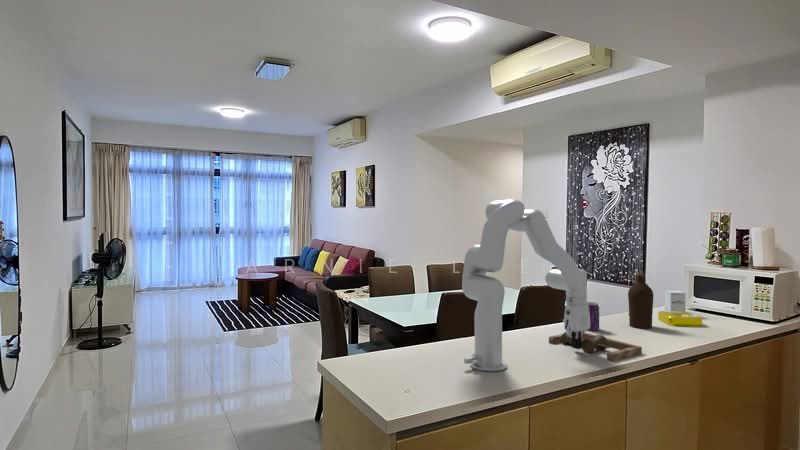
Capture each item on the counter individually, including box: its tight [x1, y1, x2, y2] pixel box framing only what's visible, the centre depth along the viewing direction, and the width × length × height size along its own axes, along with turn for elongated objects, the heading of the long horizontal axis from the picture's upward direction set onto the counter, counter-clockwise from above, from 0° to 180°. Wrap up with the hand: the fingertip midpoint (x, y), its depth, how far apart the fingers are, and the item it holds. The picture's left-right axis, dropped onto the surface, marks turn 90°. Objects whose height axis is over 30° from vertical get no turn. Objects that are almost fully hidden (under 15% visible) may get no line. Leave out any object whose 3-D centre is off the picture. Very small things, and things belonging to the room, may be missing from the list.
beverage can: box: [587, 301, 600, 331], centre depth 211 cm, size 7×7×12 cm
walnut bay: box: [548, 332, 643, 362], centre depth 181 cm, size 18×29×2 cm, turn 30°
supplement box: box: [664, 289, 687, 312], centre depth 239 cm, size 7×7×13 cm
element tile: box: [657, 310, 703, 328], centre depth 222 cm, size 15×15×5 cm
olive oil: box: [627, 272, 654, 330], centre depth 215 cm, size 11×11×25 cm
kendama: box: [561, 331, 611, 354], centre depth 181 cm, size 6×10×20 cm
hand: (576, 348), depth 176 cm, fingers closed
